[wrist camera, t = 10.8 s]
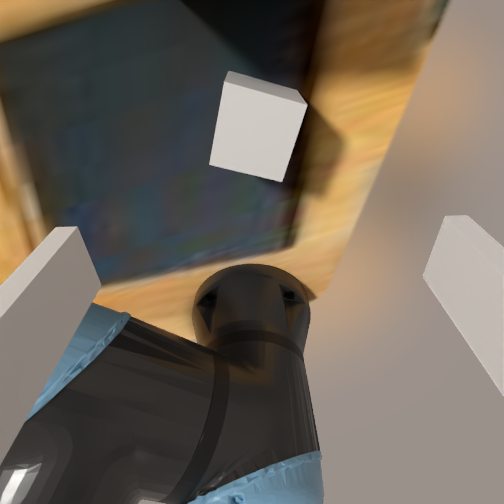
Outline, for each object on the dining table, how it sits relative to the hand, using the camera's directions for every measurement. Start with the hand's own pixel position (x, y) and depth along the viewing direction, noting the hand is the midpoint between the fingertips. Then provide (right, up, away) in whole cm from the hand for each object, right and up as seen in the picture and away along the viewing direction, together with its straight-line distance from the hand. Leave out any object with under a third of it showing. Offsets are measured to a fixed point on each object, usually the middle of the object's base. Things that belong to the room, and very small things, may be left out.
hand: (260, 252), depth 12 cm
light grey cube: (0, +12, +17) cm, 21 cm away
